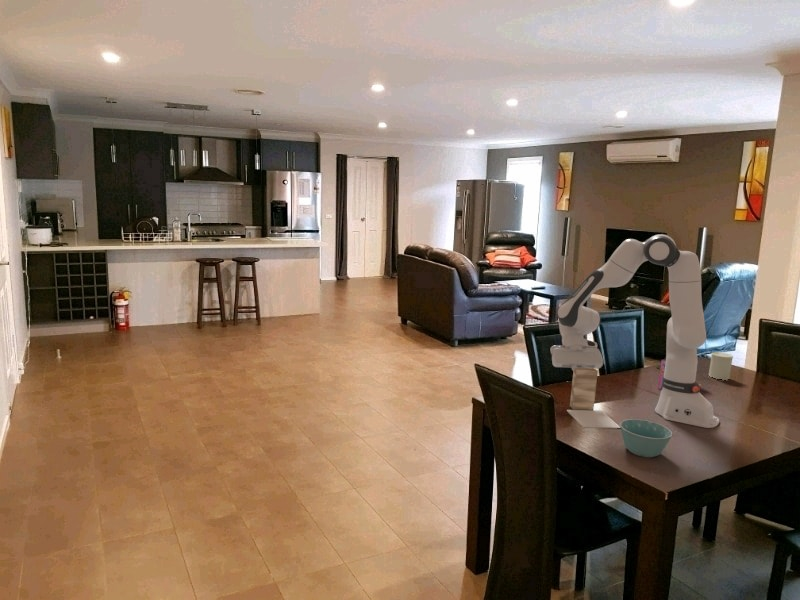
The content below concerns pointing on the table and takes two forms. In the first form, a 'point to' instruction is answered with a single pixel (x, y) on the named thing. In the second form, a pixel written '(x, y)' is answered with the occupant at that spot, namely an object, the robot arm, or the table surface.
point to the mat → (592, 419)
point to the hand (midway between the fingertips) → (580, 376)
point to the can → (720, 365)
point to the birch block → (583, 388)
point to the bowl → (644, 437)
